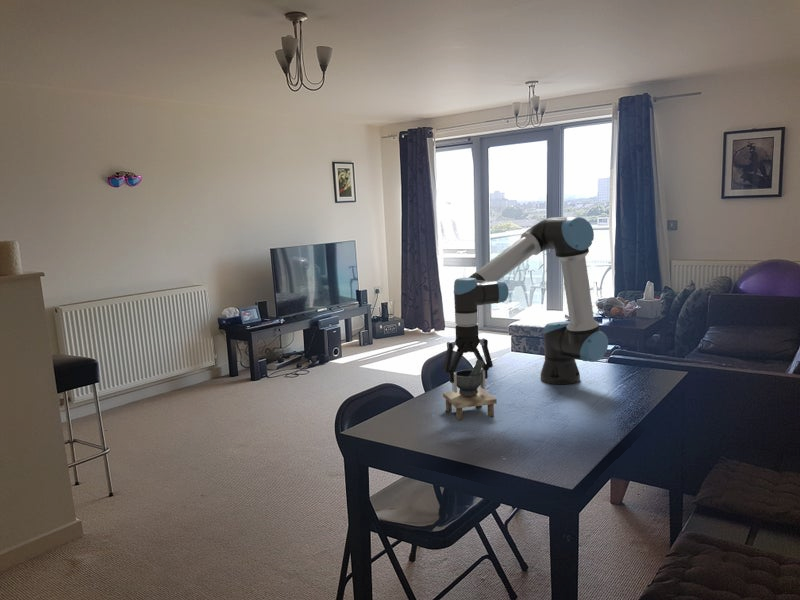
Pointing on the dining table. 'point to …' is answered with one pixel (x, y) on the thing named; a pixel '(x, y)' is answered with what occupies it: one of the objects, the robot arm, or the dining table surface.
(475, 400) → the oak footstool
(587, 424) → the dining table surface
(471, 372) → the mortar and pestle
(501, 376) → the dining table surface
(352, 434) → the dining table surface
